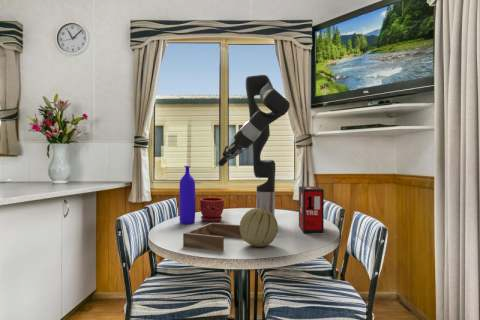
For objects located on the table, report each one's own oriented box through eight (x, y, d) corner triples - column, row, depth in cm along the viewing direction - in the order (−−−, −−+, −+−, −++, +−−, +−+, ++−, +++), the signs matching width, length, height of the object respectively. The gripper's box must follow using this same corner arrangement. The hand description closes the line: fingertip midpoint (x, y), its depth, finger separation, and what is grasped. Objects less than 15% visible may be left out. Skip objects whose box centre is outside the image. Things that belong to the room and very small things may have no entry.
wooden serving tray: (211, 233, 149) (211, 222, 149) (245, 237, 143) (245, 225, 143) (183, 246, 127) (183, 233, 127) (222, 251, 121) (222, 237, 121)
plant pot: (197, 222, 176) (197, 199, 176) (203, 218, 189) (203, 197, 189) (221, 223, 174) (221, 200, 174) (226, 218, 187) (226, 197, 187)
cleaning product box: (298, 226, 167) (298, 186, 167) (316, 226, 167) (316, 186, 166) (303, 233, 150) (303, 189, 150) (323, 233, 150) (323, 189, 150)
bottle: (180, 221, 179) (180, 165, 179) (195, 221, 179) (195, 165, 179) (178, 224, 170) (178, 166, 170) (194, 224, 171) (194, 166, 171)
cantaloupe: (231, 246, 127) (231, 207, 127) (254, 239, 139) (254, 203, 139) (263, 253, 118) (263, 211, 118) (285, 245, 129) (285, 207, 129)
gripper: (248, 129, 139) (221, 158, 144) (235, 126, 127) (206, 158, 131) (259, 141, 137) (232, 171, 141) (248, 139, 125) (218, 171, 129)
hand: (220, 164), depth 136 cm, fingers closed
